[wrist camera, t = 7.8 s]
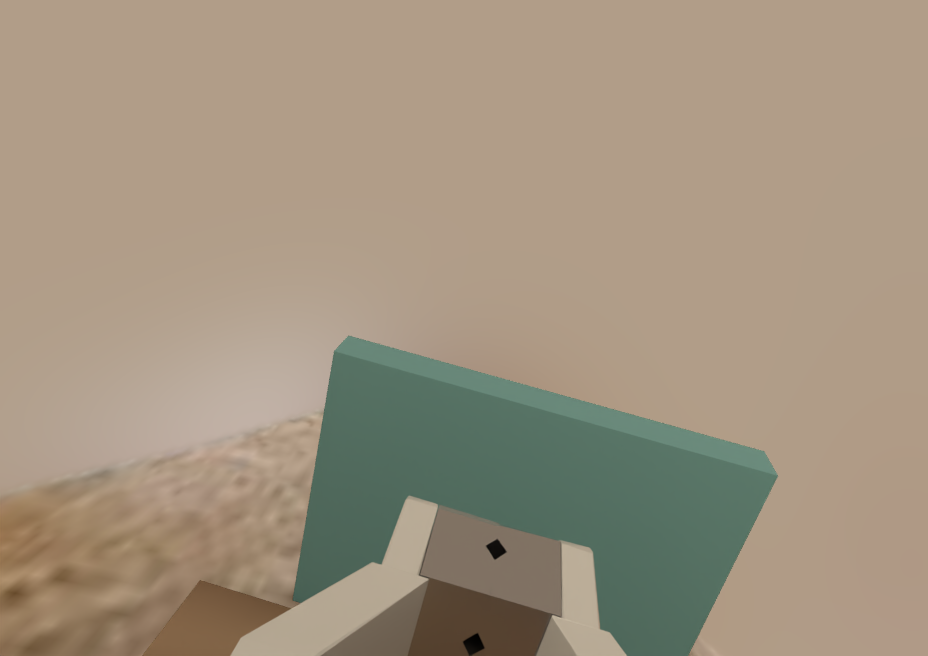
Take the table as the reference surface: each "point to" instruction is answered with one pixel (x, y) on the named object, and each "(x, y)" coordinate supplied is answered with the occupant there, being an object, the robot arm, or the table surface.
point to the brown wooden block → (212, 622)
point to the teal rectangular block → (531, 485)
